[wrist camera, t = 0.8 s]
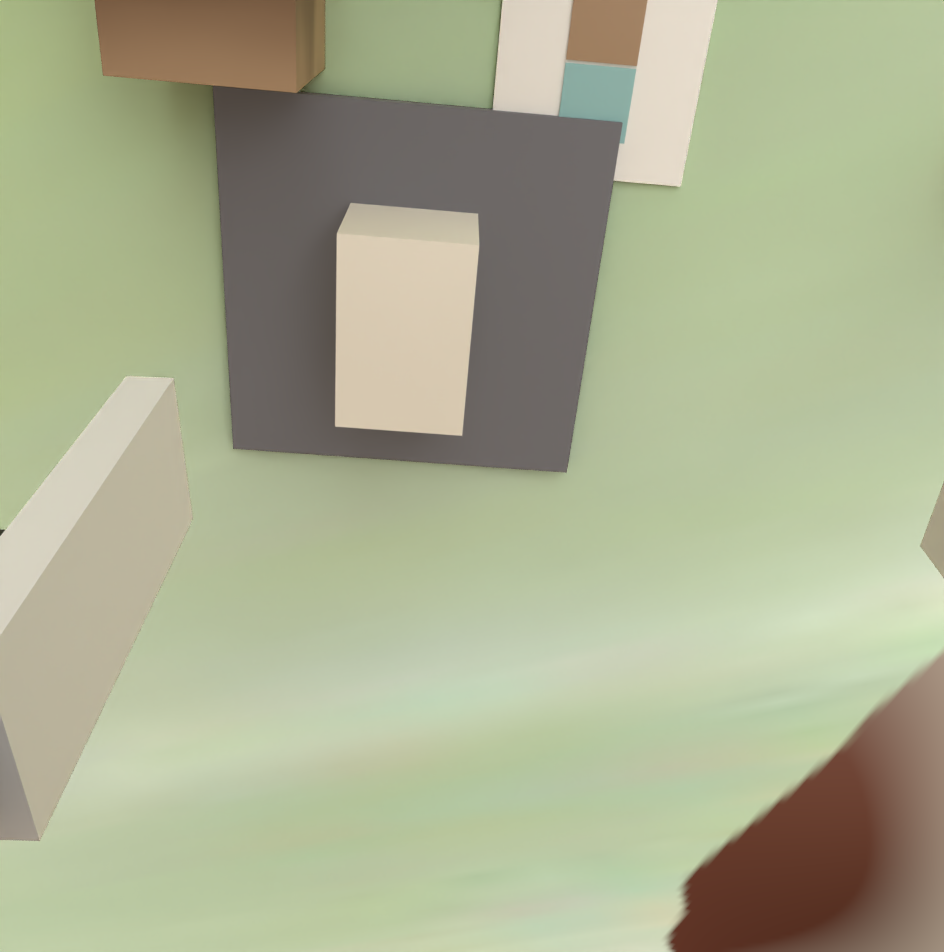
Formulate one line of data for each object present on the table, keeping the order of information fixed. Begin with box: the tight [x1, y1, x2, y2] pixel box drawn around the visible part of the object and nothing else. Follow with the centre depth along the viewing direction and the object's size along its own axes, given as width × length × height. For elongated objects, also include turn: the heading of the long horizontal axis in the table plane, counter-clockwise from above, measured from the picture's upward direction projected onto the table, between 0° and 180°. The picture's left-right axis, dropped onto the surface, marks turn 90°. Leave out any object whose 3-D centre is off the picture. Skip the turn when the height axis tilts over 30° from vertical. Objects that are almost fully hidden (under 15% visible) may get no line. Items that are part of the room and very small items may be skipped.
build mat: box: [213, 86, 623, 472], centre depth 33 cm, size 14×14×4 cm
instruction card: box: [493, 0, 718, 187], centre depth 30 cm, size 10×7×1 cm
